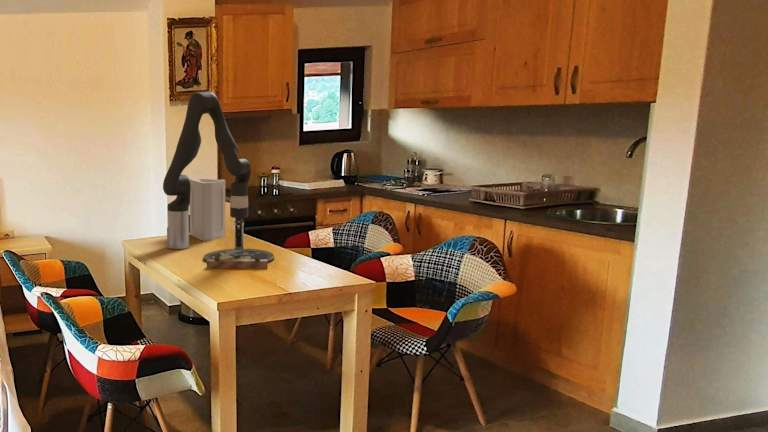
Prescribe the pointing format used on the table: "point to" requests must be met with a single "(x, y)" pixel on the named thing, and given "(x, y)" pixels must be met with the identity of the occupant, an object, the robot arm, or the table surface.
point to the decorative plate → (239, 254)
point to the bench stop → (237, 262)
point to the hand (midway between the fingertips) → (239, 245)
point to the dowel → (242, 243)
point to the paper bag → (207, 208)
